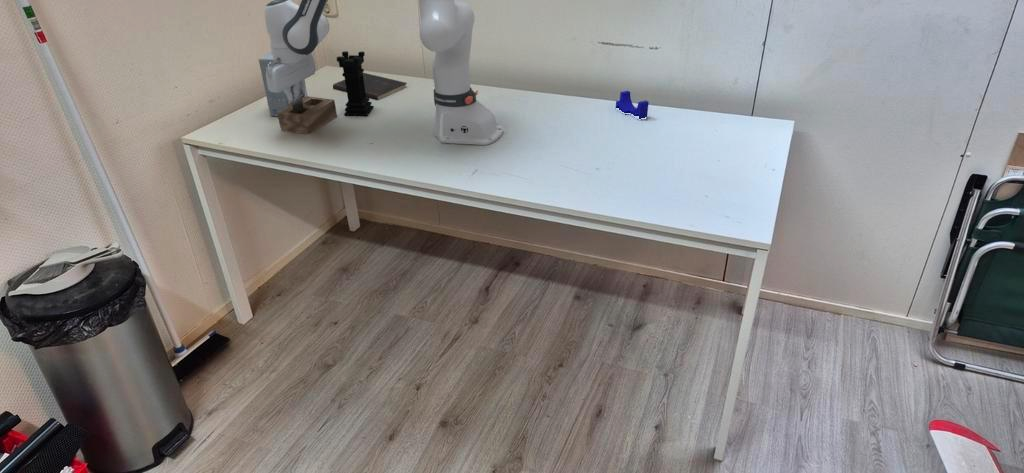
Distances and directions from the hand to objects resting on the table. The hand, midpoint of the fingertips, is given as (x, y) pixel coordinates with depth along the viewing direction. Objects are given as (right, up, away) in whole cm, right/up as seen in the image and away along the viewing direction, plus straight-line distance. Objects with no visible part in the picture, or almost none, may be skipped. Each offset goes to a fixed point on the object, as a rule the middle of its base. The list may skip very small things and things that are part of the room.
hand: (296, 96), depth 210 cm
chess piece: (+16, -2, +17) cm, 24 cm away
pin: (0, -3, +2) cm, 4 cm away
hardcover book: (+16, +11, +37) cm, 42 cm away
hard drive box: (-9, 0, +21) cm, 22 cm away
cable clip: (+110, -4, +11) cm, 110 cm away
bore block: (+2, -7, +9) cm, 11 cm away
